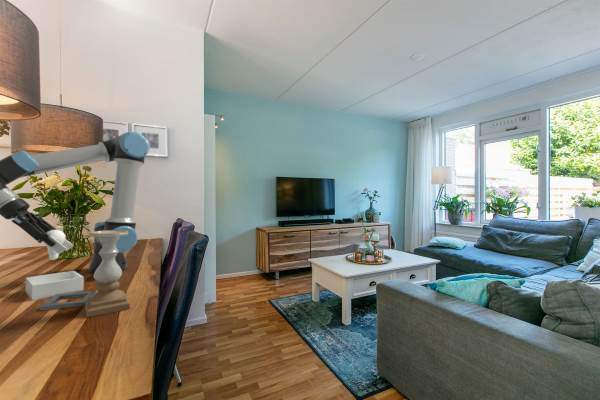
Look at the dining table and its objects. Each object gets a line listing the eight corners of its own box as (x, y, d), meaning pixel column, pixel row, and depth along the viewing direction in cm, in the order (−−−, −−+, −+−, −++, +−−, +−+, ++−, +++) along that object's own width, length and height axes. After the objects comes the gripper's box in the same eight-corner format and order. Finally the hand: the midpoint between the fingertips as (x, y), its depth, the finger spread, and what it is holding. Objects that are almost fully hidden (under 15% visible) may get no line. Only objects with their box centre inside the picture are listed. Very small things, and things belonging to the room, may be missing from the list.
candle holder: (84, 306, 86) (86, 231, 86) (125, 298, 93) (127, 229, 93) (85, 318, 77) (88, 234, 77) (130, 308, 84) (132, 232, 84)
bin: (73, 283, 108) (73, 270, 108) (83, 290, 100) (83, 277, 100) (25, 291, 98) (25, 277, 98) (32, 300, 89) (32, 285, 89)
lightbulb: (50, 262, 95) (52, 230, 95) (37, 261, 96) (38, 230, 96) (68, 258, 101) (70, 229, 101) (55, 257, 102) (57, 228, 102)
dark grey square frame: (55, 298, 92) (55, 294, 92) (96, 293, 97) (96, 290, 97) (39, 310, 82) (39, 306, 82) (86, 305, 86) (86, 301, 86)
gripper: (13, 211, 101) (67, 252, 108) (-21, 213, 84) (45, 262, 90) (32, 197, 103) (84, 238, 110) (3, 196, 86) (66, 246, 92)
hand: (66, 249), depth 100 cm, fingers closed on lightbulb, 6 cm apart
